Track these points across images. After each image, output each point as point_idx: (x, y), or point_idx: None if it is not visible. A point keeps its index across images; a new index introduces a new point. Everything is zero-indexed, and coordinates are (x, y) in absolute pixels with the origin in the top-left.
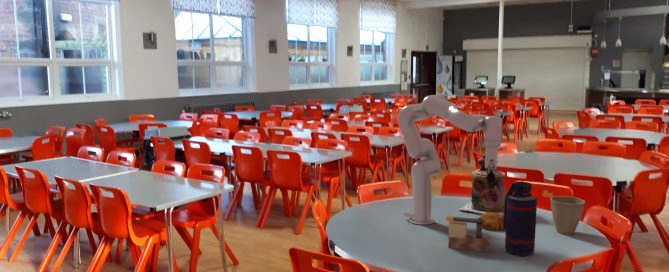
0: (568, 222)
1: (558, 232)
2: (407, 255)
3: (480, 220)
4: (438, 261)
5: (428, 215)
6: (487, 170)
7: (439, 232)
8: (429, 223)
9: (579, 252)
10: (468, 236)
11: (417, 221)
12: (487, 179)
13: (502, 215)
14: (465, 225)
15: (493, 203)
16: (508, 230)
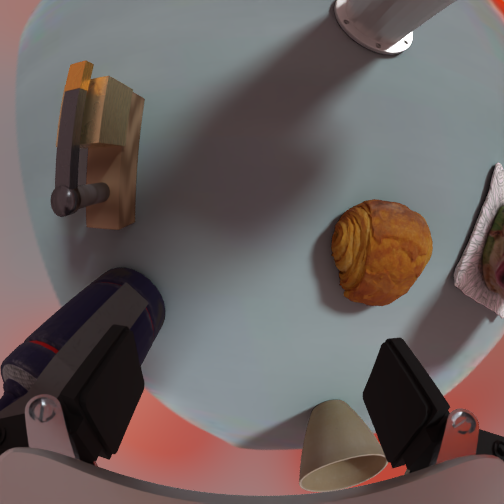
0: (304, 439)
1: (324, 402)
2: (60, 37)
3: (51, 205)
4: (33, 107)
5: (367, 22)
6: (430, 401)
7: (265, 57)
8: (349, 34)
9: (185, 411)
10: (105, 156)
11: (346, 3)
12: (101, 342)
13: (399, 293)
14: (56, 146)
15: (495, 269)
16: (74, 297)
